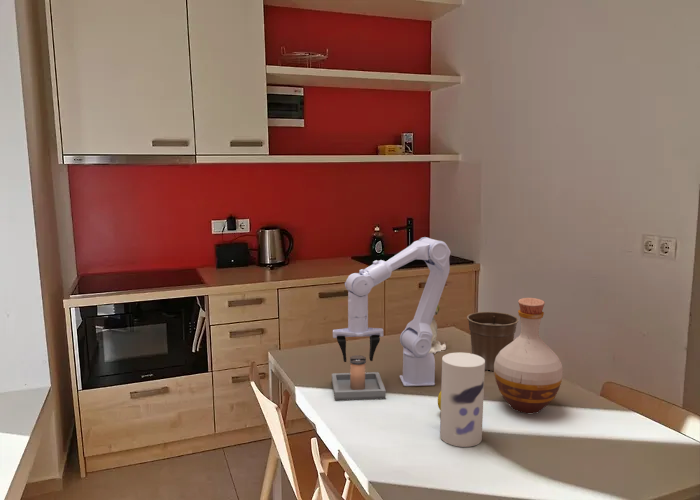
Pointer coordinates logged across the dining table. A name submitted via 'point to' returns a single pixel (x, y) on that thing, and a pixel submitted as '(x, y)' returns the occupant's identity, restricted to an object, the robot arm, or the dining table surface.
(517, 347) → the jug
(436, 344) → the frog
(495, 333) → the plant pot
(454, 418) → the container
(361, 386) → the shaker
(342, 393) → the tray
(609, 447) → the dining table surface
